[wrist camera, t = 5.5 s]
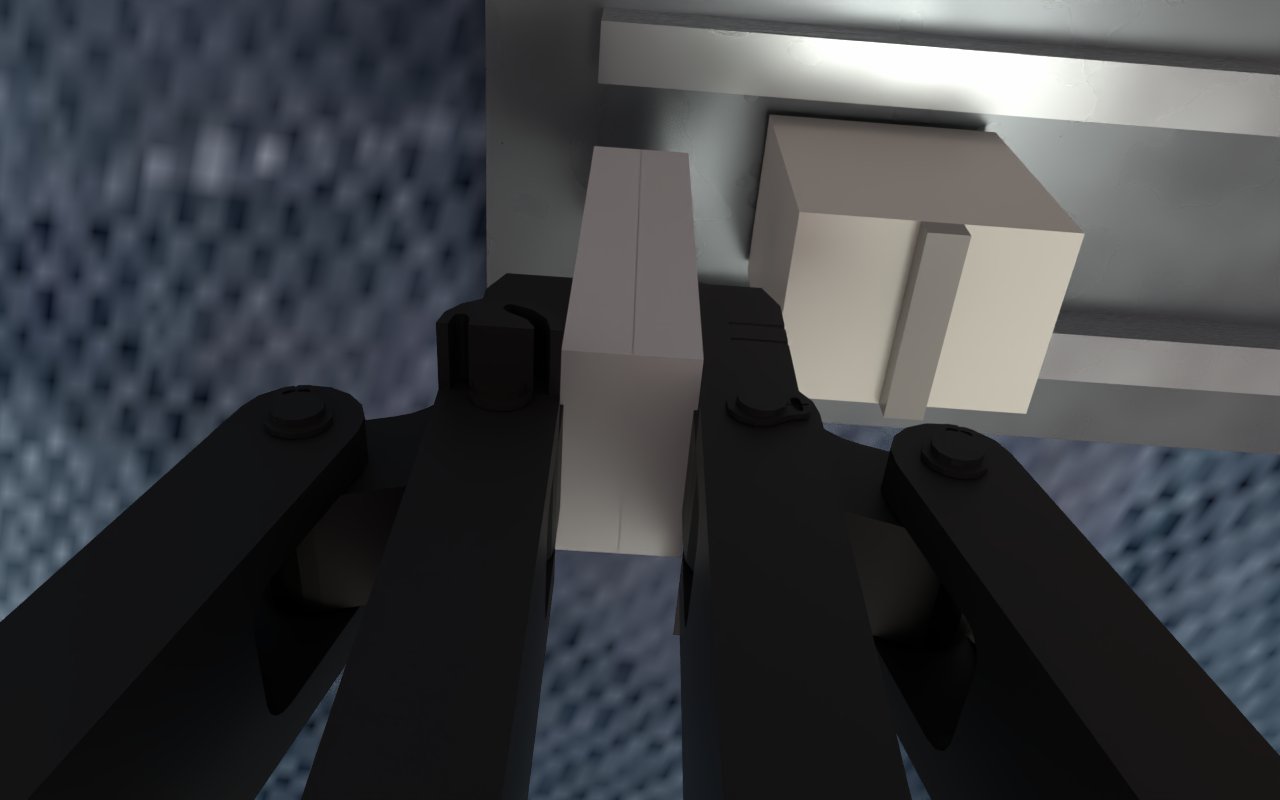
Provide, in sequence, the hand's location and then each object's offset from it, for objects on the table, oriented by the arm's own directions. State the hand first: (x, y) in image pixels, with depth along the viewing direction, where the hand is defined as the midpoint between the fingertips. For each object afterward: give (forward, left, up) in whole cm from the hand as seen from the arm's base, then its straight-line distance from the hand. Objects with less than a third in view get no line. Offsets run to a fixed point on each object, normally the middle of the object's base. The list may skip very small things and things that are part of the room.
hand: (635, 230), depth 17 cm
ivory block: (+4, 0, -2) cm, 5 cm away
